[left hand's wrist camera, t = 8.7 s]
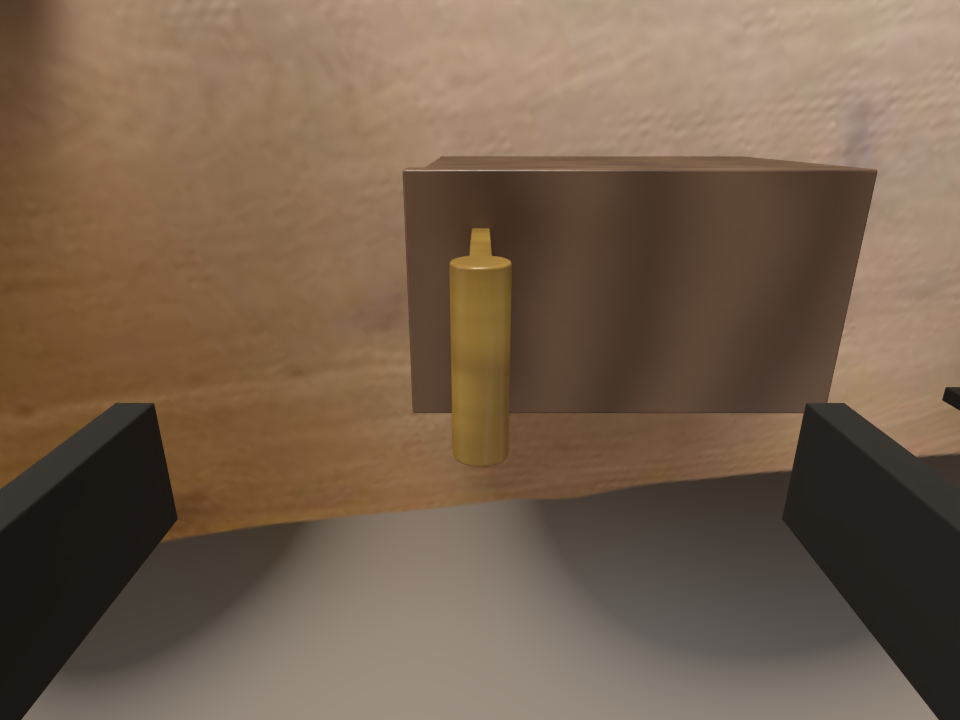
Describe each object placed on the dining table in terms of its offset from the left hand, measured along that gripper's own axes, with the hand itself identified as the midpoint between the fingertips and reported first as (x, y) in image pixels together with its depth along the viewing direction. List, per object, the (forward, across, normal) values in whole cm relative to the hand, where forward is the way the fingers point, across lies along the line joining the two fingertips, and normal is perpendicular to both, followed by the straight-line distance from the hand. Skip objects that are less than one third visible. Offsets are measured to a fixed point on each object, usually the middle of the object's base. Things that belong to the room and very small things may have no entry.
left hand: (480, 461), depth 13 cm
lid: (+14, +6, 0) cm, 15 cm away
